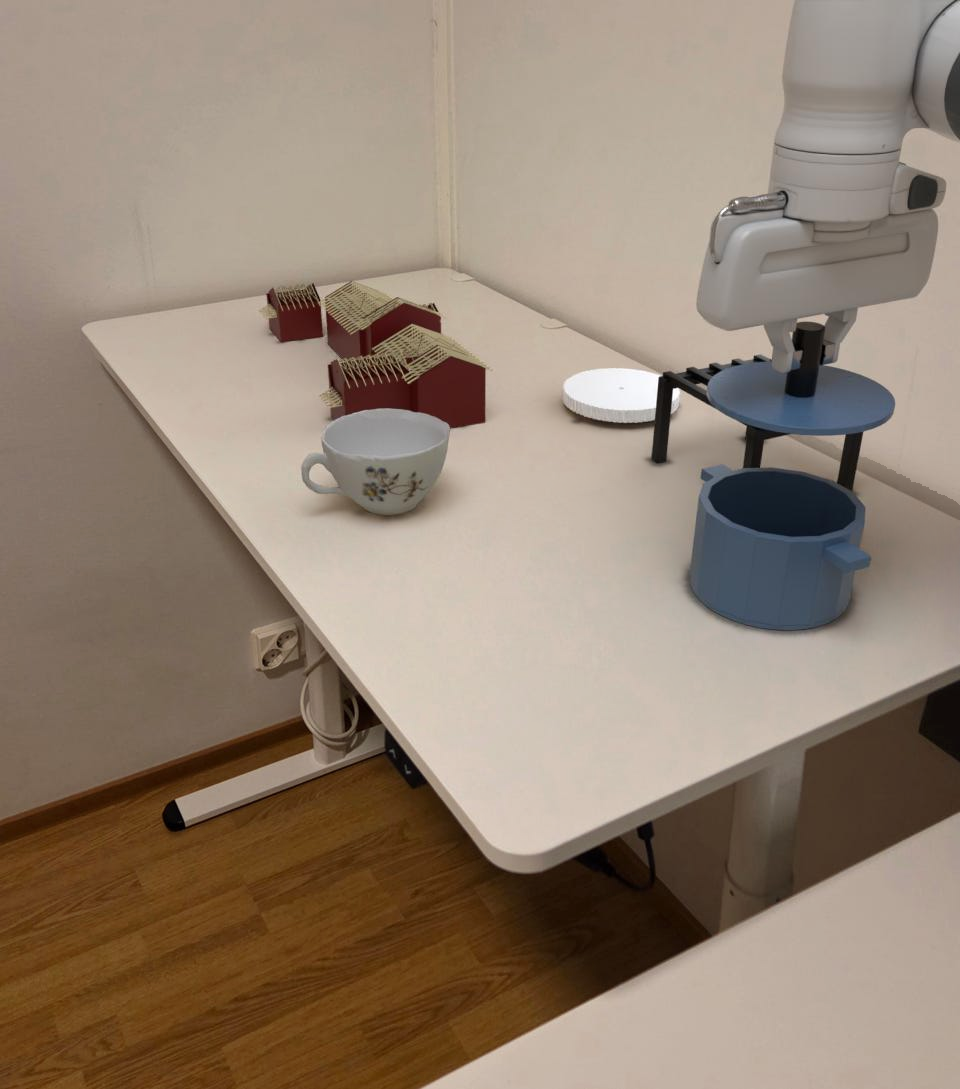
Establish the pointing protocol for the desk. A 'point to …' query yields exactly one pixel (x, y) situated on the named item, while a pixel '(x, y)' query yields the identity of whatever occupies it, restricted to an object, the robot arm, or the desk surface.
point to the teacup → (382, 458)
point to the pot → (776, 547)
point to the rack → (753, 434)
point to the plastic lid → (615, 395)
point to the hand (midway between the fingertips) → (804, 366)
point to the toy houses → (383, 353)
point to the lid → (802, 394)
